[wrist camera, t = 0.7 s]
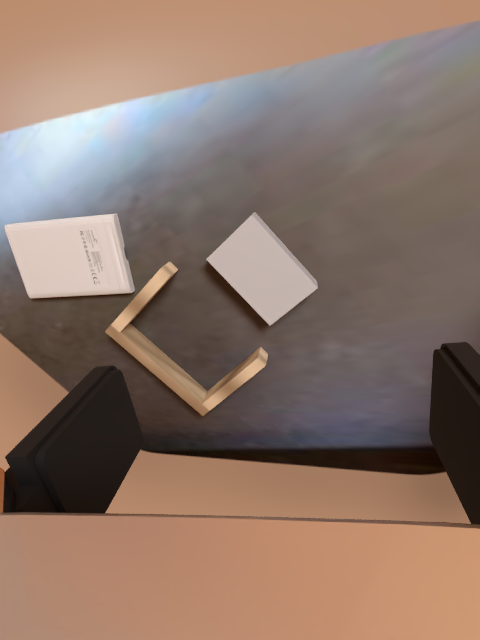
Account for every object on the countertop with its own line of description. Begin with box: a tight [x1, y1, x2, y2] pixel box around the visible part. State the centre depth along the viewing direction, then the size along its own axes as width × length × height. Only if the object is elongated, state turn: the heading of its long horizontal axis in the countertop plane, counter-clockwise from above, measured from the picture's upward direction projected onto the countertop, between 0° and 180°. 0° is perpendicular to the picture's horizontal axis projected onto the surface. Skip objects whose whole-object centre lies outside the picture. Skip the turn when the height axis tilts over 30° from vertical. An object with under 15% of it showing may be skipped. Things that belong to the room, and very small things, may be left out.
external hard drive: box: [5, 214, 135, 298], centre depth 38 cm, size 2×8×12 cm
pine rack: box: [105, 262, 268, 416], centre depth 39 cm, size 10×14×2 cm
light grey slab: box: [206, 212, 318, 325], centre depth 35 cm, size 6×9×2 cm, turn 44°
